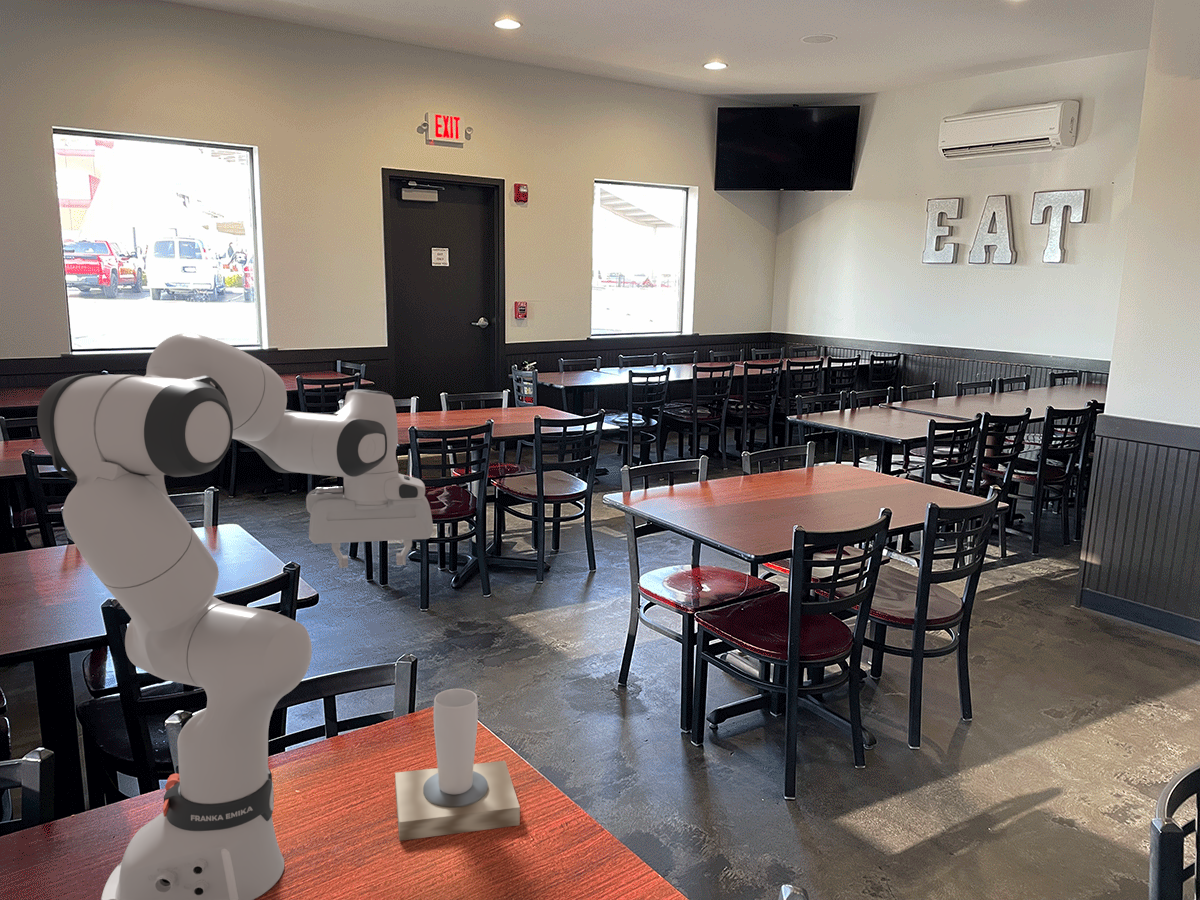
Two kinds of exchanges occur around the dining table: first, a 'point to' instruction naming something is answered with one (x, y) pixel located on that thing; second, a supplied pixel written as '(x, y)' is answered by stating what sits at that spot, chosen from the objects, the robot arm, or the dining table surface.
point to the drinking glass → (455, 739)
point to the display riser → (455, 803)
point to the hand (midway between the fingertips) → (372, 565)
